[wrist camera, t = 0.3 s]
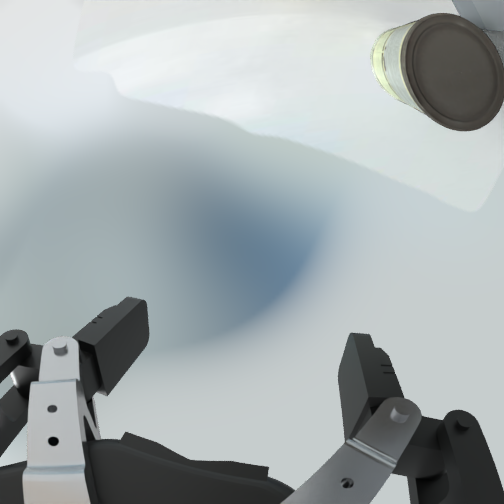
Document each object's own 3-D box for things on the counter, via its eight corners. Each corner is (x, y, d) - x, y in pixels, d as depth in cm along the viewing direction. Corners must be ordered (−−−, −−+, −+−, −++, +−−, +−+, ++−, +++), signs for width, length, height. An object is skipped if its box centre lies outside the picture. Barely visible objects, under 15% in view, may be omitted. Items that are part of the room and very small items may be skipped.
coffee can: (413, 13, 22) (464, -4, 11) (458, 82, 26) (521, 102, 15) (352, 51, 27) (376, 45, 16) (401, 118, 31) (444, 152, 20)
